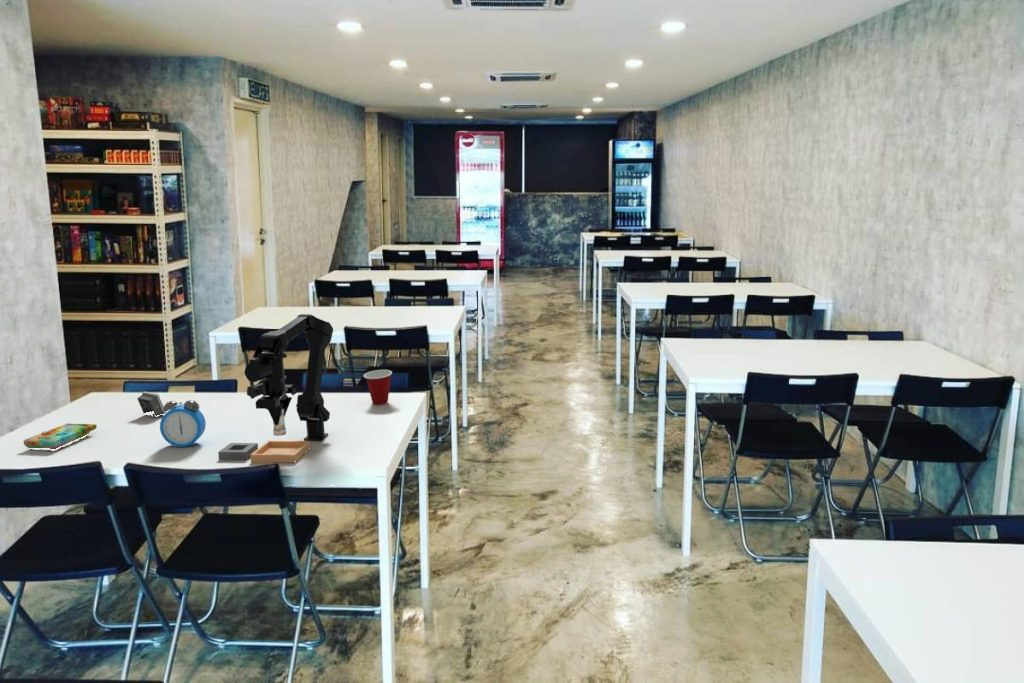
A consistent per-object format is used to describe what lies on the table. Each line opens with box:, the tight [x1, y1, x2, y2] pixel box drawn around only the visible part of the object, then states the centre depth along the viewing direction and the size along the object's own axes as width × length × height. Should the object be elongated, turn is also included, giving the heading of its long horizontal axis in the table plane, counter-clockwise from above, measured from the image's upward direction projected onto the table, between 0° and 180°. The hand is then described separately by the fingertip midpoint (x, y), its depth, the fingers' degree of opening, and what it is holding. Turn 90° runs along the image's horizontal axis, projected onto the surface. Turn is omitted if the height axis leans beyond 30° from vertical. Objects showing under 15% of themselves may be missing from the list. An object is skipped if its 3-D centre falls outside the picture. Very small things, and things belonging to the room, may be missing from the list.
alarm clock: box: [159, 399, 207, 448], centre depth 273 cm, size 13×6×15 cm, turn 93°
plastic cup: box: [363, 369, 393, 406], centre depth 318 cm, size 11×11×12 cm
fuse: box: [272, 408, 287, 437], centre depth 258 cm, size 4×4×8 cm
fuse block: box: [217, 442, 259, 461], centre depth 262 cm, size 9×9×2 cm
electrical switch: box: [136, 391, 167, 416], centre depth 310 cm, size 9×5×9 cm, turn 57°
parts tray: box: [250, 440, 311, 464], centre depth 260 cm, size 14×14×2 cm
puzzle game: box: [23, 422, 97, 449], centre depth 281 cm, size 12×5×20 cm
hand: (279, 423), depth 258 cm, fingers closed on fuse, 3 cm apart
